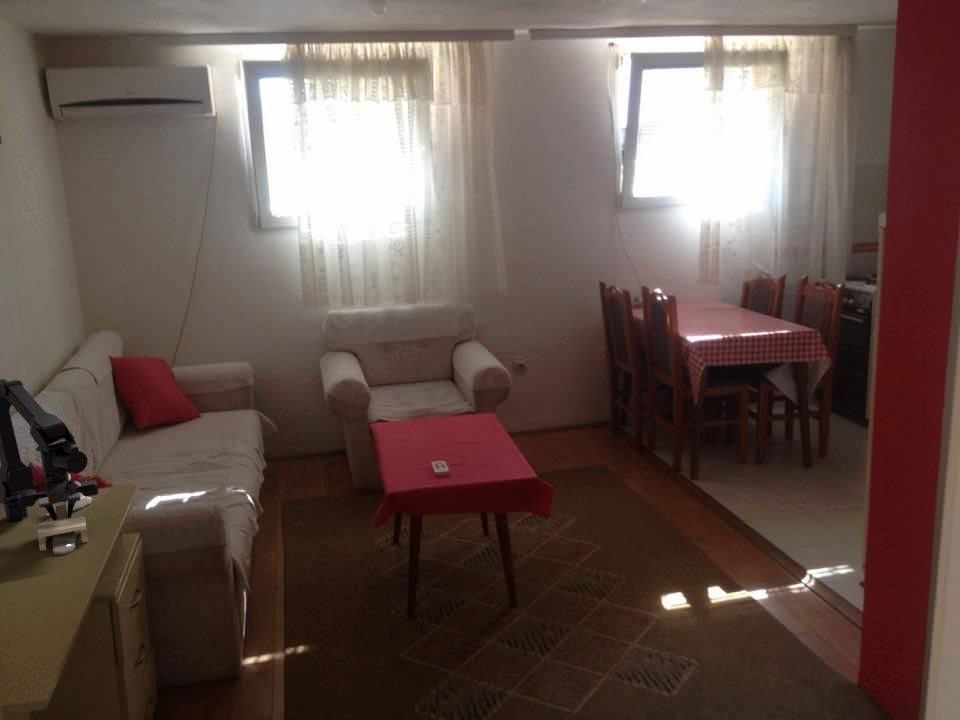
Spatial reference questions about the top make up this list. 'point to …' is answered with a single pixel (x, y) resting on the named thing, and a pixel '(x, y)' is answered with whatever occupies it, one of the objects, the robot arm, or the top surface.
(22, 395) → the robot arm
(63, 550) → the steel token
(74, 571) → the top surface
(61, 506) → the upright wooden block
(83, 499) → the rabbit figurine
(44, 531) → the footstool
